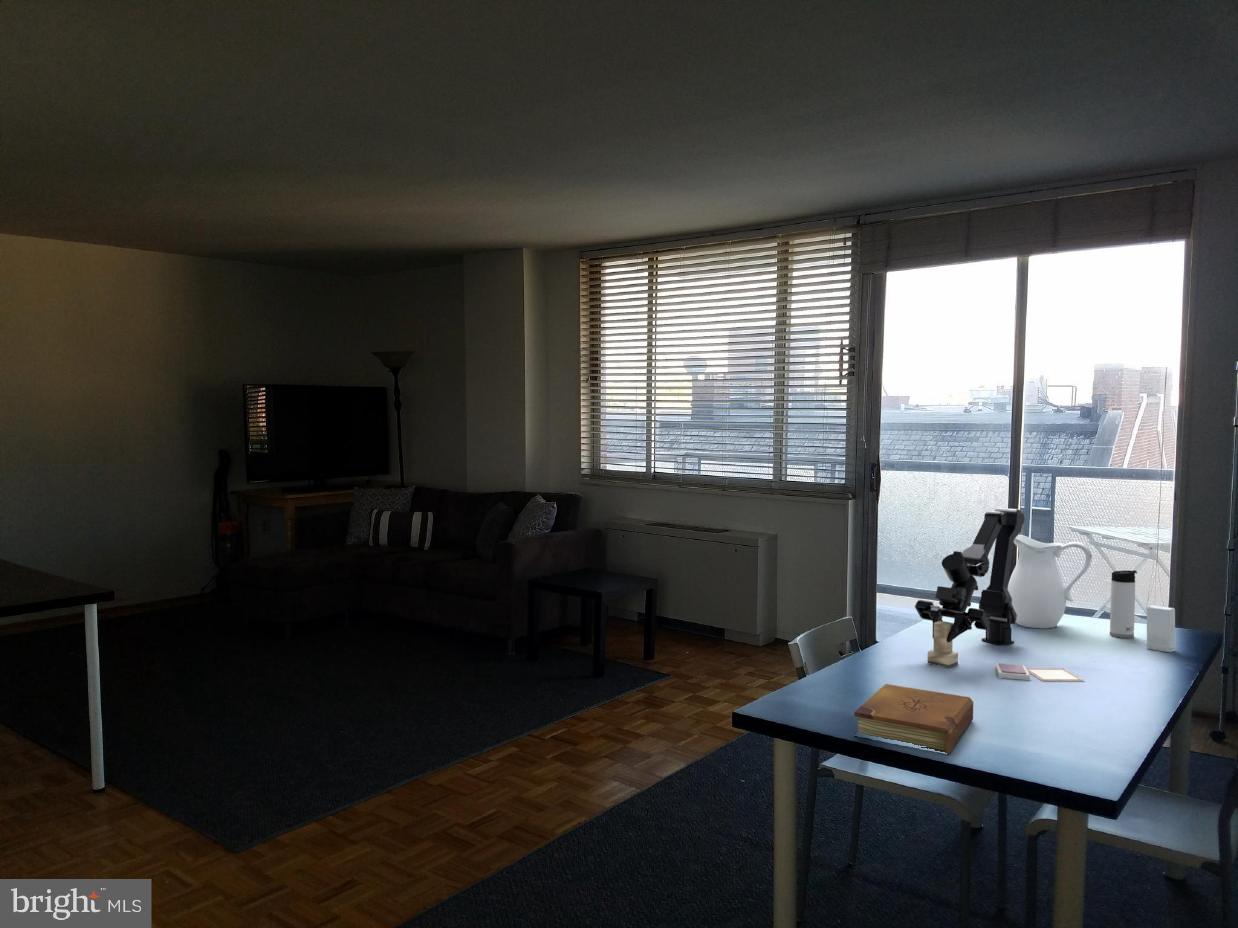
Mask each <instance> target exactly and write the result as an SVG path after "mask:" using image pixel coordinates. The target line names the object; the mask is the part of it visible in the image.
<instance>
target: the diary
mask: <svg viewBox="0 0 1238 928" xmlns="http://www.w3.org/2000/svg"><path fill="white" fill-rule="evenodd" d="M853 717H856V718H857V731H858V733H861V734H866V735H869V736H875V737H881V738H884V739H890V740H897V741H901V742H906V743H912V744H914V745H918V746H919V745H920V746H926V747H921V748H927V749H928V748H929V749H934V750H935V751H940V752H945V753H947V754H948V755H949V754H950V753H952V751H953V750H954V748H955V747H956V745H957V744H958V742H959V740H961V737H962V736H963V734H964V733H965V731H967V729H968V727H969V726H970V724H971V723H972V722H973V720H974V701H973V699H972V698H971V697H970V696H964V695H959V694H958V695H957V694H951V693H946V692H945V693H944V692H940V691H939V692H938V691H934V690H933V691H932V690H929V689H928V690H926V689H920V688H915V687H908V686H904V685H903V686H901V685H895V684H889V683H885V684H884V685H883V686H881V687H880V689H878V690H877V691H875V693H874V694H873V695H871V697H869V698H868V699H867V700H866V701H864V702H863V703H862V704H861V705H860V706H859V707H858V708H857V709H856V710H854V712H853Z"/></svg>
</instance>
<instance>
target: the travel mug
mask: <svg viewBox="0 0 1238 928" xmlns="http://www.w3.org/2000/svg"><path fill="white" fill-rule="evenodd" d="M1136 574H1138V571H1137V570H1135V569H1133V570H1115V571H1112V572H1111V579H1110V580H1111V583H1110V586H1111V587H1110V608H1109V609H1110V614H1109V615H1110V617H1109V635H1110V636H1112V637H1113V636H1115V638H1118V637H1119V638H1120V639H1133V638H1134V636H1135V611H1136V610H1135V609H1136V606H1135V603H1136ZM1119 638H1118V639H1119Z"/></svg>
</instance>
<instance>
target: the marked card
mask: <svg viewBox="0 0 1238 928" xmlns="http://www.w3.org/2000/svg"><path fill="white" fill-rule="evenodd" d="M1026 669H1027V671H1028V673H1029V675H1032V676H1033V677H1034V678H1036V679H1038V680H1039V681H1041V682H1086V680H1084V679H1083V678H1081V677H1079V676H1078V675H1076V674H1074V673H1073V672H1070V671H1069V670H1067V669H1065V668H1063V667H1061V668H1060V667H1059V668H1056V667H1054V668H1050V667H1049V668H1048V667H1046V668H1042V667H1041V668H1039V667H1035V668H1033V667H1029V668H1028V667H1026Z"/></svg>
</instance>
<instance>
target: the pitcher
mask: <svg viewBox="0 0 1238 928" xmlns="http://www.w3.org/2000/svg"><path fill="white" fill-rule="evenodd" d="M1013 545H1015V546H1016V547H1017V548H1018V549H1017V550H1018V552H1019V553H1018V558H1017V559H1018V560H1017V562H1016V563H1015V564H1016V565H1015V567H1014V568H1013V571H1012V573H1011V575H1010V577H1009V580H1008V587H1007V589H1008V591H1009V593H1010V595H1011V598H1012V606H1013V608H1014V610H1015V612H1016V614H1017V620H1016V624H1017V625H1019V626H1021V627H1026V628H1032V629H1052V628H1055V627H1056V626H1057V625H1058V624H1059V622H1060V621H1061V620H1062V618H1063V616H1064V614H1065V611H1066V607H1067V601H1068V602H1071V603H1072V602H1073V601H1074V600H1073V597H1072V596H1071V589H1072V587H1074V585H1075V584H1076V583H1077V581H1079V579H1080V578H1081V577H1083V575H1084V574H1085V573H1086V572H1087V571H1088V569H1089V568H1090V566H1091V563H1092V560H1093V559H1092V557H1093V556H1092V553H1091V549H1090V548H1089V547H1088V546H1087V545H1086V544H1085V543H1082V542H1080V541H1071V542H1067V543H1062V542H1049V543H1046V542H1041V541H1039V540H1035V539H1033V538H1031V537H1029V536H1026V535H1024V534H1018V536H1017V537H1016V538H1015V539H1014V542H1013ZM1070 548H1077V549H1078V548H1079V549H1080V550H1082V551H1083V552H1084V554H1085V561H1084V563H1083V566H1082V567H1081V569H1080V570H1079V571H1078V573H1076V574H1075V575H1074V577H1073V578H1072V579H1071V580H1070V581H1069V582H1068V583H1067V585H1066V586H1065V581H1064V579H1063V577H1062V573H1061V571H1060V569H1059V566H1058V563H1057V562H1056V561H1057V560H1056V558H1057V559H1060V558H1061V555H1062V553H1063V552H1064V550H1066V549H1070Z"/></svg>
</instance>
